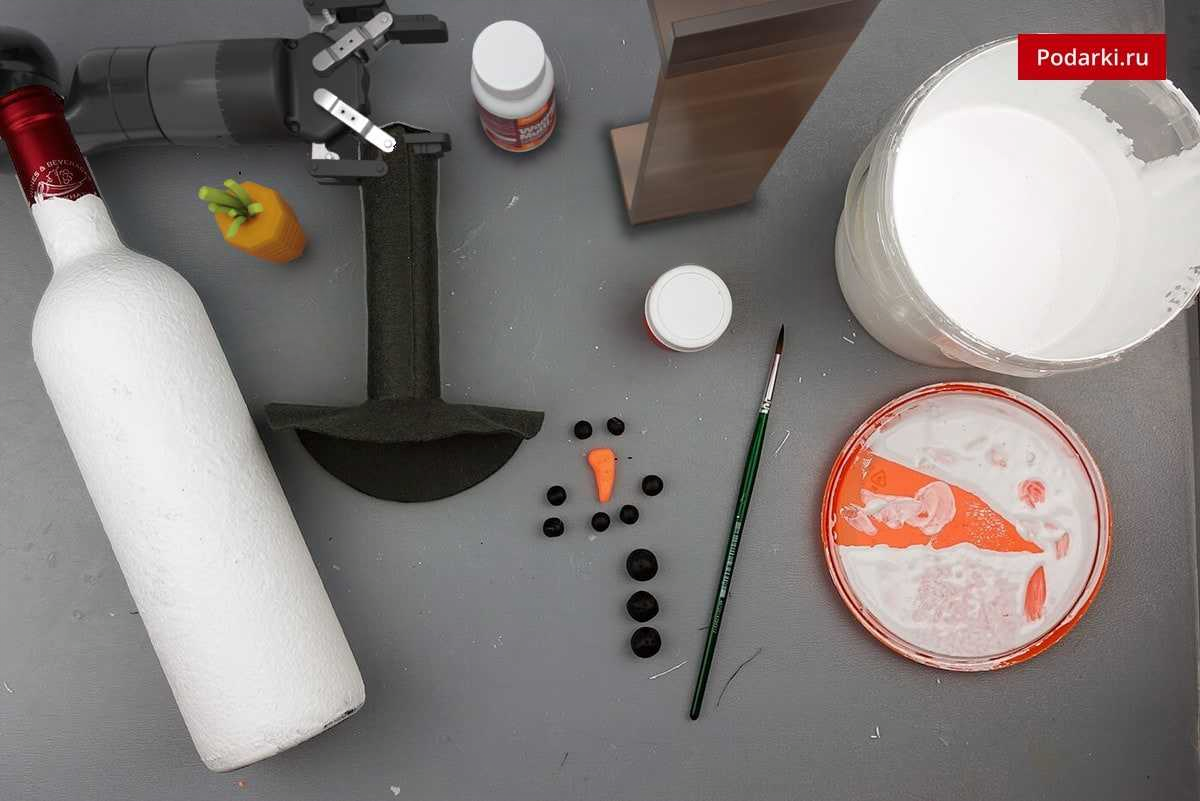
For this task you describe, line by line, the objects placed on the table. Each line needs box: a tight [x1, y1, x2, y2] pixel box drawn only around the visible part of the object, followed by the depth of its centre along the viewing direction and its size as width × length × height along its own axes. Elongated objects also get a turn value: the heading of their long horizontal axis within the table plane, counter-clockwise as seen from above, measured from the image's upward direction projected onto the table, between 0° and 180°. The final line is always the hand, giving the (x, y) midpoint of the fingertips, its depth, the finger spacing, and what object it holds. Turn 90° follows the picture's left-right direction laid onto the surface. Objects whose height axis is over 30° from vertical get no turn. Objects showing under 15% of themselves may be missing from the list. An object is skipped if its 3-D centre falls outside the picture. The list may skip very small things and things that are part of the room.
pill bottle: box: [470, 19, 557, 153], centre depth 69 cm, size 6×6×11 cm
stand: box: [609, 40, 856, 228], centre depth 60 cm, size 8×10×28 cm
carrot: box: [197, 178, 308, 264], centre depth 65 cm, size 5×5×15 cm
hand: (448, 86), depth 68 cm, fingers open, 8 cm apart
